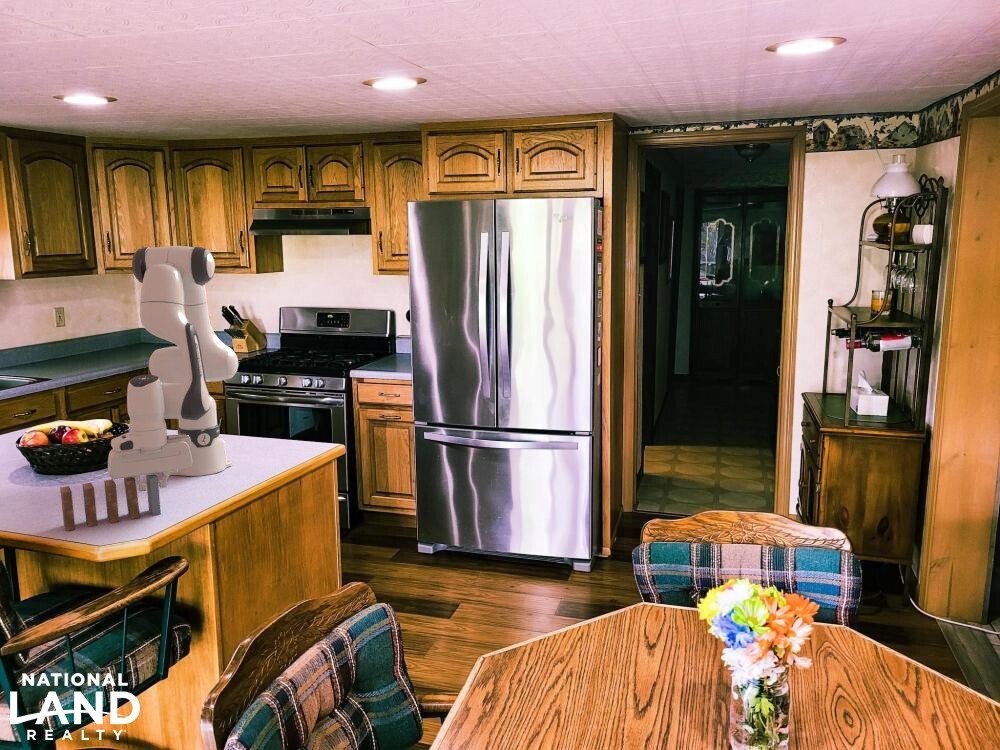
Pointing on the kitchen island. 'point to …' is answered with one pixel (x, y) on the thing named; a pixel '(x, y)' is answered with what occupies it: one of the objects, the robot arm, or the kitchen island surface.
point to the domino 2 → (90, 504)
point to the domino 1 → (67, 508)
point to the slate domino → (153, 494)
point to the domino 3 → (111, 501)
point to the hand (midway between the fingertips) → (152, 489)
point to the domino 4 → (131, 497)
